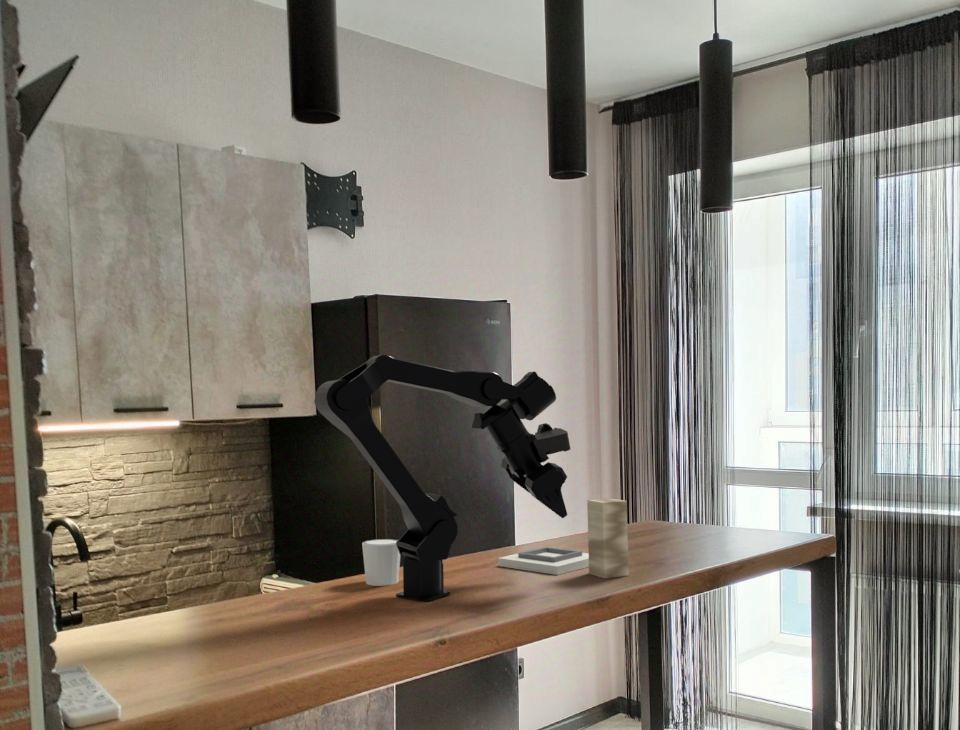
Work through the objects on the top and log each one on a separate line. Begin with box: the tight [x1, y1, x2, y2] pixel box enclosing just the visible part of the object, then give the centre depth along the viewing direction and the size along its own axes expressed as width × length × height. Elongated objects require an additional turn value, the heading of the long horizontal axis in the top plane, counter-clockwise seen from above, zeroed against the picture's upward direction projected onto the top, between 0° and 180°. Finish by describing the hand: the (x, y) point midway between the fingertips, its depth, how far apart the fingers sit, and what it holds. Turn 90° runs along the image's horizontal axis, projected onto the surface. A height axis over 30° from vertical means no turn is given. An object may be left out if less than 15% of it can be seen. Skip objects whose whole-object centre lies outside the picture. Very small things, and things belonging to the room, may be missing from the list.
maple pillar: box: [586, 498, 630, 579], centre depth 150 cm, size 5×5×13 cm
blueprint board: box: [497, 546, 589, 576], centre depth 160 cm, size 14×14×2 cm
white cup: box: [361, 538, 401, 587], centre depth 147 cm, size 7×7×7 cm
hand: (555, 509), depth 147 cm, fingers open, 9 cm apart
